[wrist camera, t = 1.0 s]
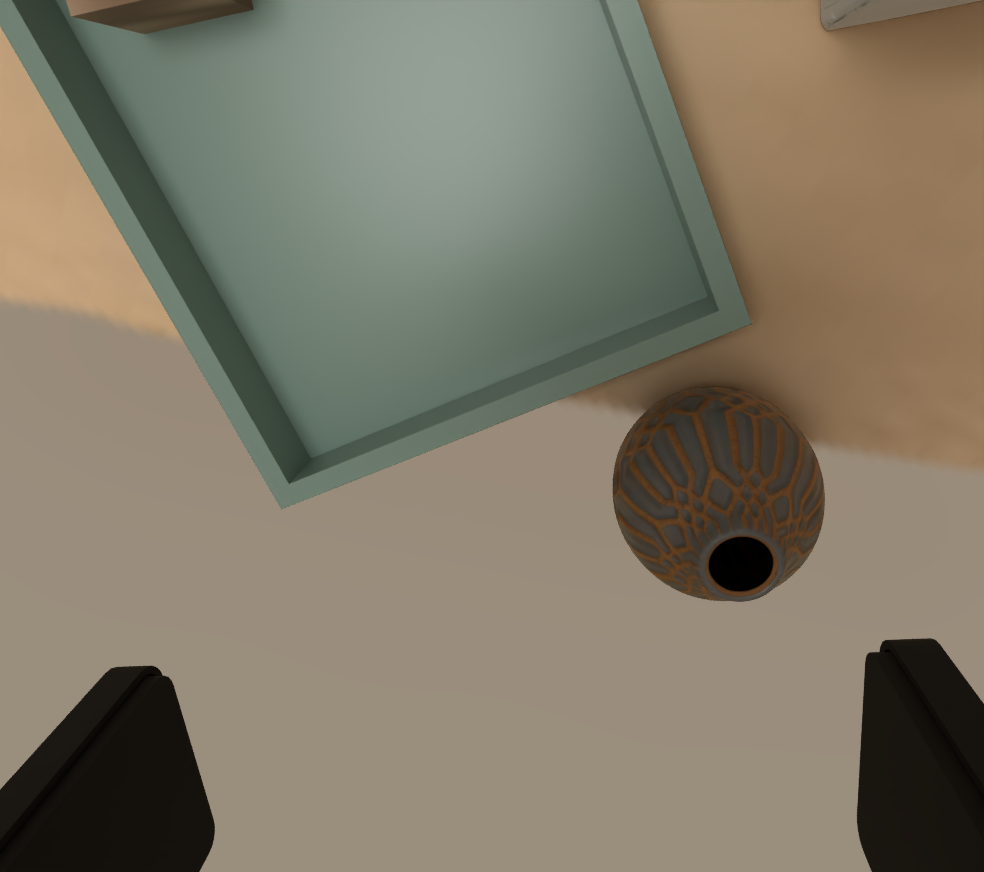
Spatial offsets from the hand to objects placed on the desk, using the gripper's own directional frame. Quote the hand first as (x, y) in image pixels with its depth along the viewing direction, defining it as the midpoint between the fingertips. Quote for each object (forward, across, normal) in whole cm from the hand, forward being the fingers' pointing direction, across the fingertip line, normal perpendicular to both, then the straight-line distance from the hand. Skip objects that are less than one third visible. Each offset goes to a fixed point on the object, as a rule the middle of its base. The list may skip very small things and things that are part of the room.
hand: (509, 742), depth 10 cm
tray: (+20, +5, -9) cm, 23 cm away
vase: (+21, -5, +4) cm, 22 cm away
